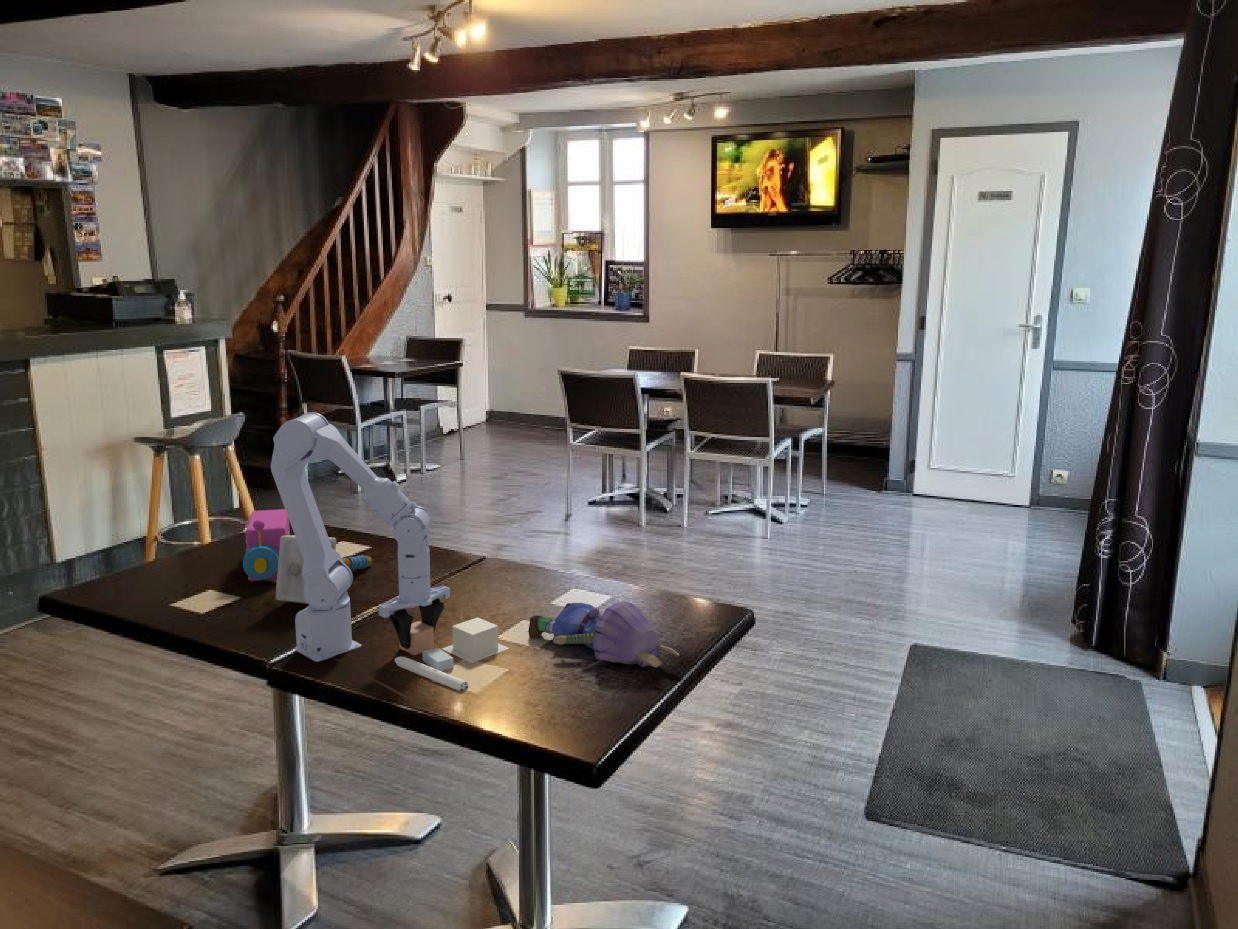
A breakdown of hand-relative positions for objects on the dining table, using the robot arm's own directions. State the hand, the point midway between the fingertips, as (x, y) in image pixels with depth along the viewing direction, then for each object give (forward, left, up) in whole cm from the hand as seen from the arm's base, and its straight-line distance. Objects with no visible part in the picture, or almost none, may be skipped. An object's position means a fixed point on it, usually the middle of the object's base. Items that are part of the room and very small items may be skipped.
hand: (416, 643), depth 171 cm
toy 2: (+24, -26, -2) cm, 36 cm away
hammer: (+8, +42, -2) cm, 43 cm away
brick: (-1, -9, -2) cm, 9 cm away
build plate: (+8, -8, -1) cm, 11 cm away
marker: (-5, -11, -2) cm, 12 cm away
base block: (+8, -8, -1) cm, 11 cm away
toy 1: (+4, +63, -2) cm, 63 cm away
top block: (0, 0, -1) cm, 1 cm away
